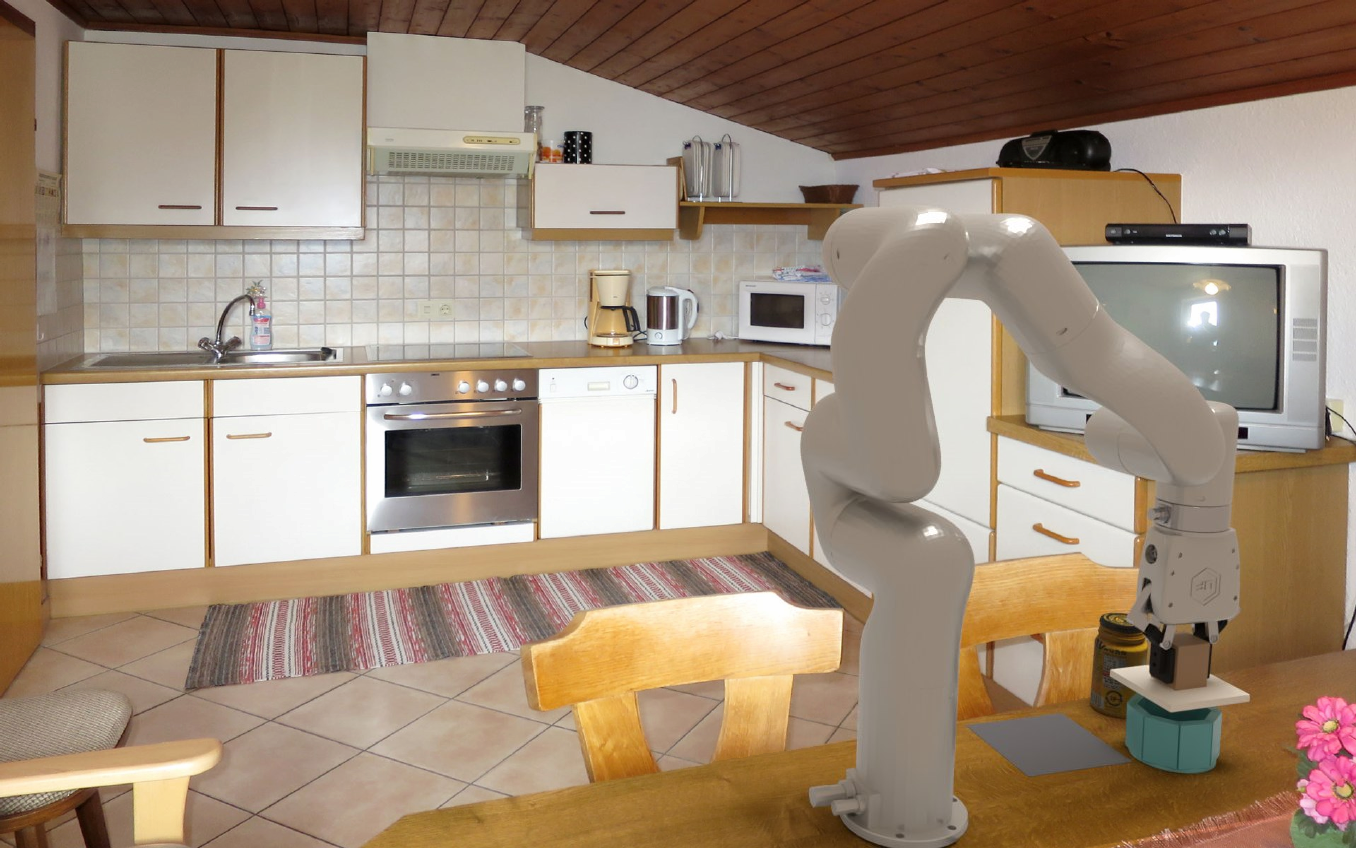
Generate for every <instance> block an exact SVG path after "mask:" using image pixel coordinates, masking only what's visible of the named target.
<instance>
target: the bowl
mask: <svg viewBox="0 0 1356 848" xmlns="http://www.w3.org/2000/svg"><path fill="white" fill-rule="evenodd" d="M1222 718H1223V711H1222V710H1221V709H1220V708H1218V706H1214V707H1206V708H1199V709H1192V710H1184V711H1177V712H1169V711H1167V710H1166V709H1164V708H1162V707H1161V706H1159V705H1157V704H1156V703H1154V702H1152V701H1151V700H1149V699H1147V698H1146V697H1144V696H1142V695H1141V694H1139V693H1136V694H1135V695H1134V696H1133V697H1132V698H1131V699H1130V700H1129V701H1128V702H1127V716H1126V718H1125V738H1124V739H1125V740H1124V744H1125V747H1127V749H1128V752H1129V754H1131V755H1132V757H1134V758H1135V759H1136V760H1137V761H1139V762H1142V763H1143V764H1145V765H1147V766H1149V767H1150V766H1151V767H1153V768H1156V769H1158V770H1162V771H1168V772H1171V773H1179V774H1201V773H1206V772H1209V771H1211V770H1212V769H1214V768H1215V767H1216V765H1217V759H1218V757H1220V753H1221V752H1220V751H1221V737H1222V736H1221V735H1222V720H1223V719H1222Z"/></svg>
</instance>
